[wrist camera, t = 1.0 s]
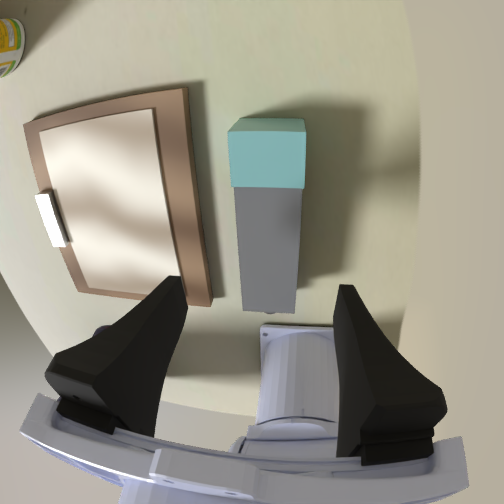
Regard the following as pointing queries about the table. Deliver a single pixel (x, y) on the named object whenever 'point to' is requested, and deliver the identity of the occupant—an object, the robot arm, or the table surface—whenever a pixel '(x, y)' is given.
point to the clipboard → (123, 194)
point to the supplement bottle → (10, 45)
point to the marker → (268, 208)
